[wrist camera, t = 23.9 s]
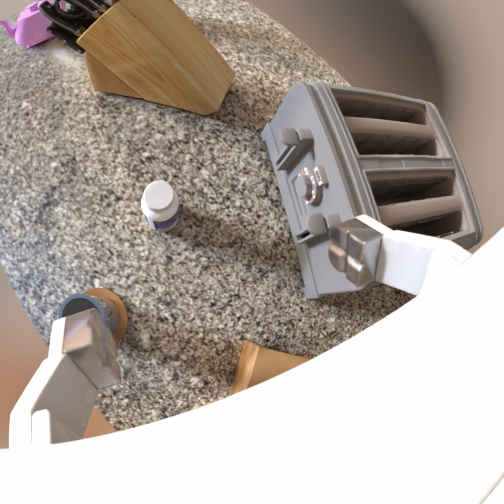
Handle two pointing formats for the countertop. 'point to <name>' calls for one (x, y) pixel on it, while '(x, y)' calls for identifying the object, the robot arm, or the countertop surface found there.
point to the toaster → (365, 173)
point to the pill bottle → (160, 206)
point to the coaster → (121, 308)
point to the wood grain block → (261, 365)
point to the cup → (87, 302)
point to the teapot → (31, 26)
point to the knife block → (143, 51)
